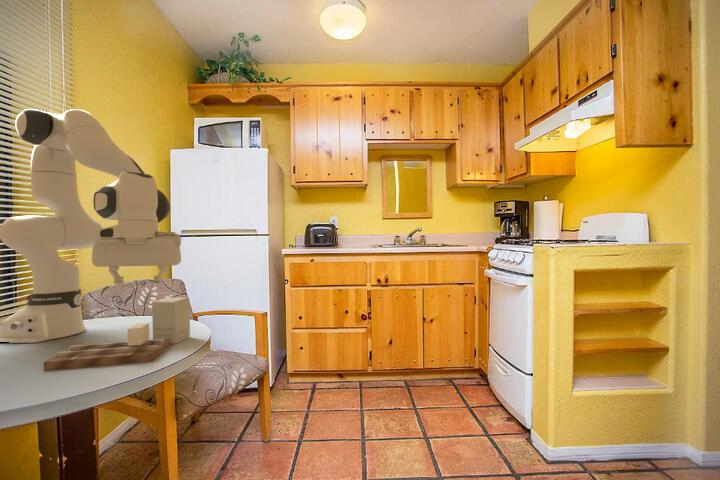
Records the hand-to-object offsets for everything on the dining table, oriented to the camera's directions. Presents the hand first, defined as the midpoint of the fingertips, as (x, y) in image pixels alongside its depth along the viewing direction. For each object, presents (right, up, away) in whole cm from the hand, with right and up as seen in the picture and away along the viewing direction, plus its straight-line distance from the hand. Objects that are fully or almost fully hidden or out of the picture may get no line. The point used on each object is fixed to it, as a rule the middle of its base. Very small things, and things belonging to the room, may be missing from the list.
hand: (138, 282), depth 85 cm
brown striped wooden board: (-5, -19, -2) cm, 20 cm away
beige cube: (+1, -17, -1) cm, 17 cm away
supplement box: (+2, -19, +12) cm, 23 cm away
